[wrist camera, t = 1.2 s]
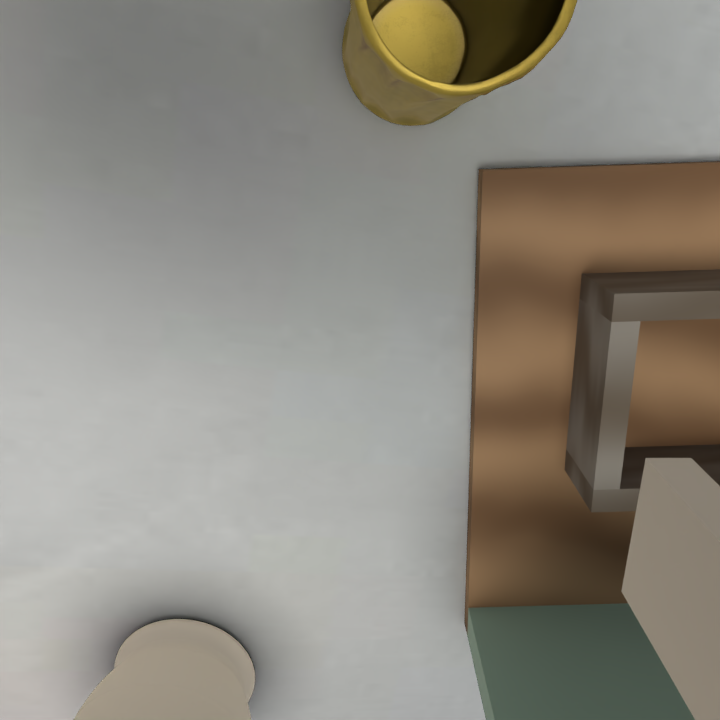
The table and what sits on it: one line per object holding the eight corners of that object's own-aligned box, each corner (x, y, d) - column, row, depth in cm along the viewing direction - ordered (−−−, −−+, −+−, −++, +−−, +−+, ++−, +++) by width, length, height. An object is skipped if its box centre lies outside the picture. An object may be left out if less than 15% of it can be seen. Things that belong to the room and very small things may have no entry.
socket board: (478, 169, 29) (502, 175, 24) (960, 153, 29) (1078, 157, 24) (464, 623, 38) (479, 692, 33) (834, 612, 38) (902, 681, 33)
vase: (512, 54, 27) (663, -24, 14) (407, 155, 29) (451, 174, 15) (419, -66, 26) (487, -283, 12) (313, 47, 27) (270, -38, 14)
